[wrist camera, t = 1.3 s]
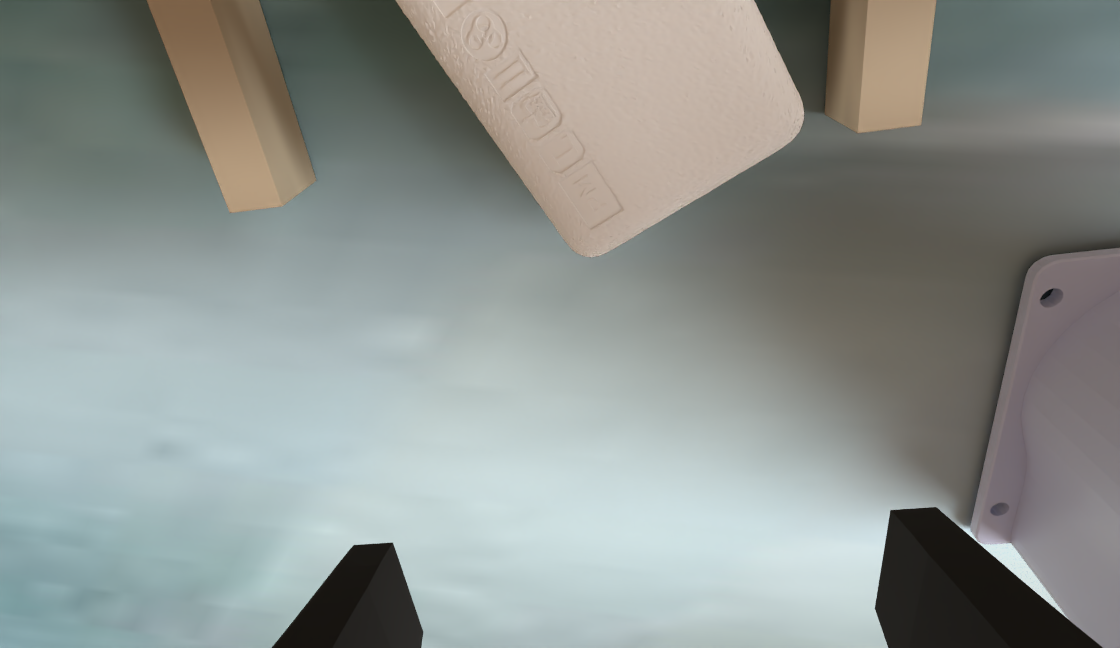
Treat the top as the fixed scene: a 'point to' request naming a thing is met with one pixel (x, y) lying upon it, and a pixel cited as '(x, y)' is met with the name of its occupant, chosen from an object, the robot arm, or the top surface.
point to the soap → (616, 100)
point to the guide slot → (276, 140)
